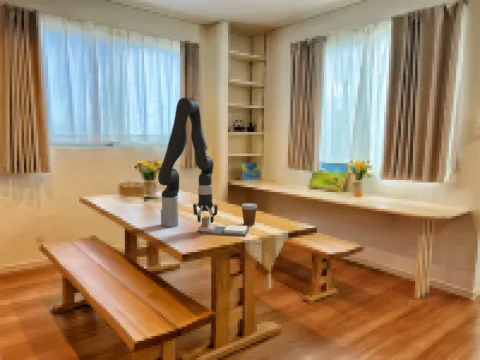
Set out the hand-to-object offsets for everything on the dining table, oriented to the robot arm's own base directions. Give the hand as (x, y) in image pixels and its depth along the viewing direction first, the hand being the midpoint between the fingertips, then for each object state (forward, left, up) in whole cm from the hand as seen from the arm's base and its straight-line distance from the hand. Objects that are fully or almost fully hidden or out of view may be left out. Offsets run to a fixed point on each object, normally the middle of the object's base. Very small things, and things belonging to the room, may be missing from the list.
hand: (205, 222), depth 195 cm
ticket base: (+12, 0, -5) cm, 12 cm away
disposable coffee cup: (+22, +18, -5) cm, 28 cm away
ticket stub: (+1, 0, -4) cm, 4 cm away
